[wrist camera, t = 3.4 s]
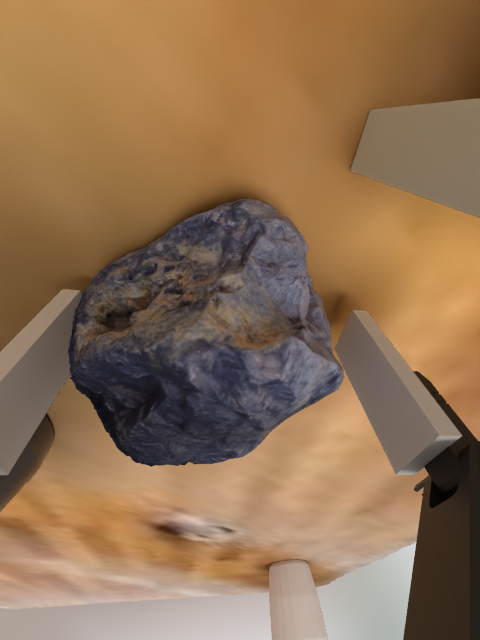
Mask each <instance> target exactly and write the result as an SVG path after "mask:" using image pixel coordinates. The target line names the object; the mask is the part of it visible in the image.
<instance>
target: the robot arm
mask: <svg viewBox="0 0 480 640" xmlns="http://www.w3.org/2000/svg"><path fill="white" fill-rule="evenodd" d="M81 297H82V294H81V291H80V290H69V289H62V290H61V291H60V292H59V293H58V294H57V295H56V296H55V297H54V298H53V299H52V300H51V301H50V302H49V303H48V304H47V305H46V306H45V307H44V308H43V309H42V310H41V311H40V312H39V313H38V314H37V315H36V316H35V317H34V318H33V319H32V320H31V321H30V322H29V323H28V324H27V325H26V326H25V327H24V328H23V329H22V330H21V331H20V332H19V333H18V334H17V335H16V336H15V337H14V338H13V339H12V340H11V341H10V342H9V343H8V344H7V345H6V346H5V347H4V348H3V349H2V350H1V351H0V512H1V511H2V509H3V508H4V507H5V506H6V505H7V504H8V503H9V502H10V501H11V499H12V498H13V497H14V496H15V495H16V494H17V493H18V492H19V490H20V489H21V488H22V487H23V486H24V485H25V483H26V482H28V481H29V480H30V479H31V478H32V477H33V476H34V475H35V473H36V472H37V470H38V469H39V468H40V466H41V464H42V462H43V460H44V458H45V456H46V455H47V453H48V451H49V449H50V447H51V445H52V443H53V440H54V431H53V428H52V425H51V423H50V421H49V420H48V418H47V417H46V416H45V414H46V413H47V411H48V410H49V408H50V406H51V405H52V403H53V402H54V400H55V398H56V397H57V395H58V393H59V392H60V390H61V389H62V387H63V385H64V384H65V382H66V381H67V379H68V377H69V376H70V366H71V365H70V364H69V353H68V349H69V346H70V345H69V341H70V338H71V335H72V327H73V321H74V315H75V309H76V308H77V307H78V304H79V302H80V300H81ZM335 351H336V353H337V355H338V357H339V359H340V361H341V363H342V365H343V367H344V369H345V371H346V374H347V376H348V378H349V380H350V382H351V384H352V386H353V388H354V390H355V392H356V394H357V396H358V398H359V400H360V402H361V404H362V406H363V408H364V410H365V412H366V414H367V416H368V418H369V420H370V422H371V425H372V427H373V429H374V431H375V433H376V435H377V437H378V439H379V441H380V443H381V445H382V447H383V449H384V451H385V453H386V455H387V457H388V459H389V461H390V463H391V465H392V467H393V469H394V471H395V473H396V474H416V473H418V472H419V471H420V470H421V469H422V468H424V467H425V469H426V470H427V472H428V474H429V476H427V477H426V478H425V479H424V480H422V481H421V482H420V483H418V484H417V485H416V486H415V488H414V490H415V491H416V492H418V491H419V490H420V489H422V488H423V487H424V491H423V494H422V496H423V499H422V506H421V513H420V521H419V528H418V535H417V543H416V550H415V557H414V565H413V573H412V580H411V587H410V594H409V602H408V609H407V616H406V624H405V631H404V639H403V640H480V441H478V440H477V439H476V438H475V437H474V436H473V434H472V433H471V432H470V431H469V429H468V428H467V427H466V426H465V424H464V423H463V422H462V421H461V419H460V418H459V417H458V416H457V414H456V413H455V412H454V411H453V409H452V408H451V407H450V406H449V404H446V401H445V399H444V398H443V397H442V396H441V394H439V392H438V391H437V389H436V388H435V387H434V386H433V384H432V383H431V382H430V381H429V380H428V379H427V378H425V377H424V376H423V375H422V374H420V373H419V372H417V371H412V369H411V368H410V367H409V365H408V364H407V363H406V361H405V360H404V359H403V358H402V356H401V355H400V354H399V352H398V351H397V350H396V348H395V347H394V346H393V344H392V343H391V342H390V341H389V339H388V338H387V337H386V335H385V334H384V333H383V331H382V330H381V329H380V328H379V326H378V325H377V324H376V322H375V321H374V320H373V318H372V317H371V316H370V314H369V313H368V312H367V311H361V310H352V312H351V315H350V317H349V319H348V321H347V323H346V325H345V327H344V330H343V332H342V334H341V336H340V338H339V340H338V343H337V345H336V347H335Z"/></svg>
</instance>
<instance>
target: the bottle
mask: <svg viewBox="0 0 480 640" xmlns="http://www.w3.org/2000/svg"><path fill="white" fill-rule="evenodd" d="M269 599H270V600H269V601H270V616H271V630H272V640H328V637H327V633H326V628H325V624H324V620H323V615H322V611H321V607H320V603H319V599H318V595H317V591H316V588H315V585H314V582H313V578H312V575H311V572H310V568H309V565H308V564H307V562H306V561H304V560H285V561H280V562H276V563H273V564H271V566H270V568H269Z"/></svg>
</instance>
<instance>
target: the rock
mask: <svg viewBox="0 0 480 640" xmlns="http://www.w3.org/2000/svg"><path fill="white" fill-rule="evenodd" d="M307 251H308V245H307V244H306V242H305V239H304V236H303V235H302V234H301V233H300V232H299V231H298V230H297V228H296V226H295V225H294V223H293V222H292V221H291V220H290V219H288V218H287V217H285V216H282V215H281V214H280V213H279V212H278V211H277V210H276V209H275V208H274V207H273V206H271V205H270V204H267V203H264V202H262V201H259V200H255V199H239V200H237V201H235V202H231V203H222V204H220V205H219V206H217V207H216V208H214V209H212V210H209V211H207V212H204V213H200V214H195V215H193V216H191V217H189V218H187V219H185V220H184V221H182V222H181V223H179V224H177V225H176V226H174V227H173V228H171V229H169V230H168V231H167V232H166V233H165V235H164V236H162V237H161V238H159V239H157V240H156V241H154V242H152V243H150V244H149V245H147V246H146V247H145V248H144V249H140V250H136V251H133V252H131V253H129V254H127V255H125V256H123V257H121V258H120V259H118V260H116V261H114V262H112V263H111V264H109V265H108V266H106V267H105V268H104V269H102V270H101V271H100V272H99V273H98V274H97V275H96V276H95V277H94V278H93V281H92V283H91V285H90V286H88V287H87V288H86V290H85V292H84V293H83V294H82V297H81V300H80V302H79V304H78V307H77V308H76V309H75V315H74V321H73V327H72V335H71V338H70V341H69V345H70V346H69V349H68V353H69V364H70V365H71V366H70V374H71V376H72V377H71V378H70V379H72V381H73V382H74V383H75V387H76V389H77V390H79V391H80V392H81V394H85V395H86V397H88V398H89V399H90V400H91V402H92V404H93V405H94V409H96V411H97V414H98V416H99V418H100V419H101V421H102V423H103V425H104V428H105V430H106V432H108V433H109V435H110V437H111V438H112V439H113V441H114V442H115V445H116V447H117V448H118V449H119V450H120V451H121V452H123V453H124V454H125V455H126V456H130V457H131V458H132V460H133V461H134V462H136V463H141V464H146V465H149V466H154V465H167V464H168V465H176V466H178V465H180V464H181V465H186V464H187V463H188V462H191V463H193V464H213V463H218V462H223V461H226V460H228V459H233V458H239V457H243V456H245V455H246V454H248V453H250V452H251V451H252V450H254V449H255V448H256V447H257V446H258V445H259V444H260V443H261V442H262V441H263V440H264V439H265V438H266V436H267V435H268V434H269V433H270V432H271V431H272V430H273V429H274V428H276V427H277V426H278V425H279V424H281V423H282V422H283V421H284V420H286V419H287V418H289V417H290V416H292V415H294V414H295V413H297V412H299V411H301V410H302V409H304V408H306V407H308V406H310V405H312V404H314V403H316V402H317V401H319V400H320V399H322V398H324V397H325V396H327V395H329V394H331V393H332V392H334V391H336V390H338V389H339V387H340V385H341V383H342V381H343V379H344V372H343V368H342V366H341V365H340V363H339V362H338V361H337V359H336V358H335V357H334V355H333V351H332V346H331V327H330V324H329V322H328V319H327V317H326V313H325V311H324V308H323V304H322V299H321V297H320V296H319V295H318V294H317V293H316V292H315V291H314V290H313V288H312V279H311V277H310V276H309V275H308V274H307V263H306V254H307Z"/></svg>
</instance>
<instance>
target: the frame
mask: <svg viewBox="0 0 480 640" xmlns="http://www.w3.org/2000/svg"><path fill="white" fill-rule="evenodd" d="M350 171H351V172H354V173H357V174H360V175H362V176H365V177H368V178H371V179H373V180H376V181H379V182H382V183H385V184H387V185H390V186H393V187H396V188H398V189H401V190H404V191H407V192H409V193H412V194H415V195H418V196H420V197H423V198H426V199H429V200H432V201H434V202H437V203H440V204H443V205H445V206H448V207H451V208H454V209H456V210H459V211H462V212H465V213H468V214H470V215H473V216H476V217H479V218H480V98H476V99H466V100H457V101H447V102H438V103H428V104H418V105H409V106H399V107H390V108H380V109H370V112H369V115H368V118H367V121H366V124H365V127H364V130H363V133H362V136H361V139H360V143H359V146H358V149H357V152H356V155H355V158H354V161H353V164H352V167H351V170H350Z"/></svg>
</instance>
